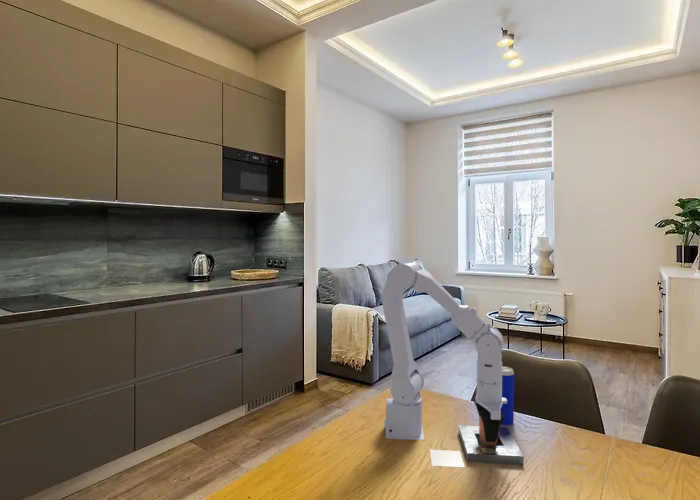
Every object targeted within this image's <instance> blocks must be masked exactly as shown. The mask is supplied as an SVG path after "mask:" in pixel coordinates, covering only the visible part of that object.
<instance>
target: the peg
mask: <svg viewBox="0 0 700 500" xmlns="http://www.w3.org/2000/svg"><path fill="white" fill-rule="evenodd" d="M478 419H479V420H478V421H479V422H478V426H479V441H478V443H479V444H480V445H493V446H497V444H498V442H497V439H496V442H487V441H486V439H485V434H484V426H483V422H482V419H481V416H480V415H479V414H478Z"/></svg>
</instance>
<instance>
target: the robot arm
mask: <svg viewBox="0 0 700 500" xmlns="http://www.w3.org/2000/svg"><path fill="white" fill-rule="evenodd" d="M411 290H412V291H415V292H419V293H420V292H421V293H426V294H427V295H429V297H430V298H432V299H433V300H434V301H435V302H436V303H438V304H439V305H440V306H441V307H442V308H443V309H444V310H445V311H446V312H448V313H449V314H450V315H451V317H450V318H451V323H452V324H453V325H454V326H455V327H456V328H457V329H458V330H459V331H460V332H462V334H463V335H464V336H465V337H467V339H469V340H470V341H471V342H473V343H474V347H475V350H476V352H477V360H476V396H475V400H473V404H474V405H475V407H476V410H477V413H478V416H479V415H480V416H481V419H482V422H483V426H484V434H485V439H486V441H487V442H496V439H497V435H498V431H499V428H500V427H502V425H501V424H502V422H503V421H504V419H505V415H504V413H501V411H500V410H501V407H502V404H506V403H507V399H506V398H502V366H503V361H502V358H503V354H502V351H503V344H504V338H503V334H502V333H501V331H499V329H498V328H497V327H494V326H493V324H492V323H491V322H489V323H488V322H487V321H486V320H485V319H483V317H481V316H480V314H478V313H477V312H478V309H476V307H472V308H471V307H470V305H467V304H464V305H463V304H460V303H459V302H458V300H457V299H455V298H454V297H453V296H452V294H450V293H449V291H448V290H446V289H445V287H444V286H443V285H442V284H441V283H440V282H439V281H438V280H437V279H436V278H435V277H434V276H433V275H432V274H431V273H430V272H429V271H428V270H426V269H425V268H423V267H422V266H421V265H420V264H419V263H418V262H415V261H409V262H405V263H399V264H396V265H394V267H393V268H391V270H390V271H388V273H387V274H386V281H385V284H384V287H383V289H382V292H381V297H380V298H381V301H382V302H381V304H382V308H383V313H384V319H385V320H384V321H385V325H386V330H387V331H386V332H387V336H388V341H389V346H390V352H391V357H392V361H393V366H392V372H391V380H392V381H391V385H390V394H391V396H392V397H390V398H386V399H385V420H384V428H385V438H386V439H394V440H395V439H396V440H413V441H414V440H415V441H424V440H425V435H424V428H423V424H422V423H423V421H422V419H423V417H422V416H423V409H422V408H423V398H422V395H421V392H420V391H421V390H422V389H423V387H424V384H425V380H424V376H423V375H422V374H421V371H419V368H418V364H417V362H416V361H415V360H414V357H413V351H412V350H413V349H412V346H411V339H410V335H409V334H410V333H409V330H408V329H409V328H408V323H407V318H406V312H405V308H404V302H403V300H404V298H405V297H406V295H407V294H408V293H409V292H410V291H411Z"/></svg>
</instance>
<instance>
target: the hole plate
mask: <svg viewBox="0 0 700 500" xmlns="http://www.w3.org/2000/svg"><path fill="white" fill-rule="evenodd" d="M458 435H459V439H460V442H461V444H462V448H463V452H464V455H465V458H466V461H467V463H481V464H498V465H499V464H500V465H514V466H524V465H525V463H524V460H525V459H524V455H523V453H522V451H521V449H520V447H519V446H518V443H517V442H516V440H515V439H514V436H512V433H511V431H510V430H509V428H508V427H507V426H500V428H499V431H498V435H497V444H498V445H495V446H493V445H483V444H480V443H479V425H465V424H464V425H463V424H462V425H461V424H458Z"/></svg>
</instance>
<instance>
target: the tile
mask: <svg viewBox="0 0 700 500" xmlns="http://www.w3.org/2000/svg"><path fill="white" fill-rule="evenodd" d="M429 455H430V461H431V466H433V467H446V468H447V467H448V468H460V469H461V468H464V469H465V463H464V460H463V457H462V453H461V451H460V450H445V449H430V448H429Z"/></svg>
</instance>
